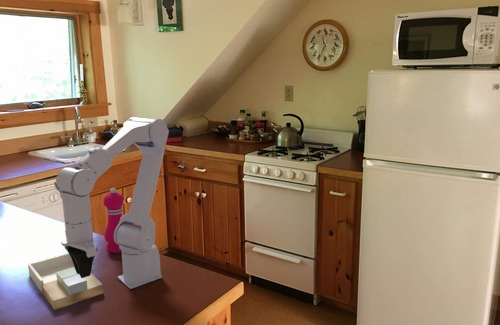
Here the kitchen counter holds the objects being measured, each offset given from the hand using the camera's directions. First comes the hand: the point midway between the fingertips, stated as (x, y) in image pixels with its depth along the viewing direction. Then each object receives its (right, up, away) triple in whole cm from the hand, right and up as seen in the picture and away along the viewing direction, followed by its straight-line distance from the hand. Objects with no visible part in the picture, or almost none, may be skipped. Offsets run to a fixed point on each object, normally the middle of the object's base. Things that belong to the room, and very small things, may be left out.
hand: (83, 274), depth 103 cm
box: (-14, -5, +18) cm, 23 cm away
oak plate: (-6, -7, +10) cm, 14 cm away
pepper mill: (-3, -1, +36) cm, 36 cm away
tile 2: (-5, -5, +7) cm, 10 cm away
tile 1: (-8, -4, +11) cm, 14 cm away
